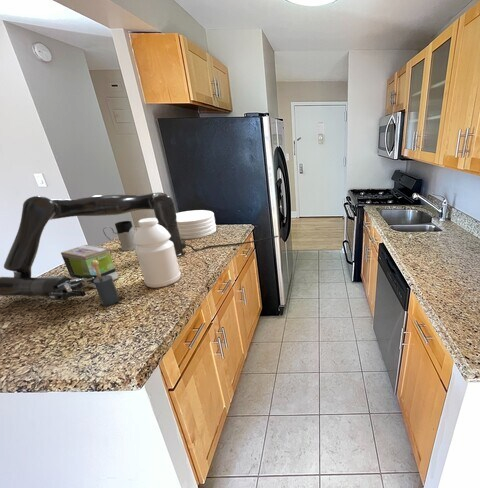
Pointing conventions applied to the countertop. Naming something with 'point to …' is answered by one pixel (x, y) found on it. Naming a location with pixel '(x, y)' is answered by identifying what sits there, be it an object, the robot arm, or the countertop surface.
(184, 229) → the plate stack
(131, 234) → the glass holder
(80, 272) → the tea box
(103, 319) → the countertop surface
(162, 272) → the bottle
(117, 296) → the spoon crock
